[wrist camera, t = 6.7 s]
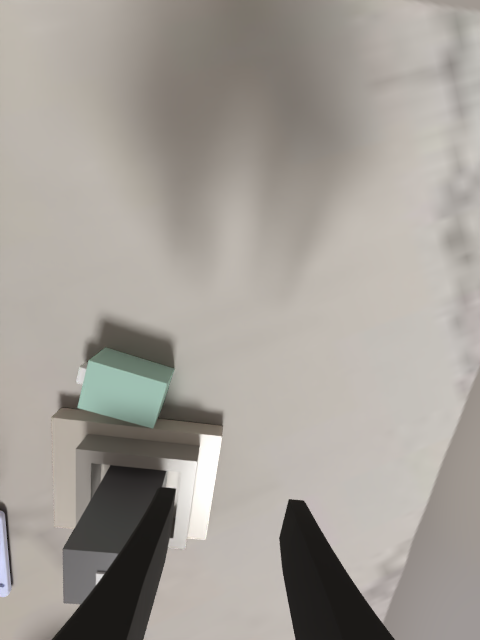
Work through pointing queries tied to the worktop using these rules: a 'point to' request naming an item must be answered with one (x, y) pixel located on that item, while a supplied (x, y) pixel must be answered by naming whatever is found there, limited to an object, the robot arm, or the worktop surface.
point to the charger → (106, 527)
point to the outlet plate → (134, 464)
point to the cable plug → (124, 387)
